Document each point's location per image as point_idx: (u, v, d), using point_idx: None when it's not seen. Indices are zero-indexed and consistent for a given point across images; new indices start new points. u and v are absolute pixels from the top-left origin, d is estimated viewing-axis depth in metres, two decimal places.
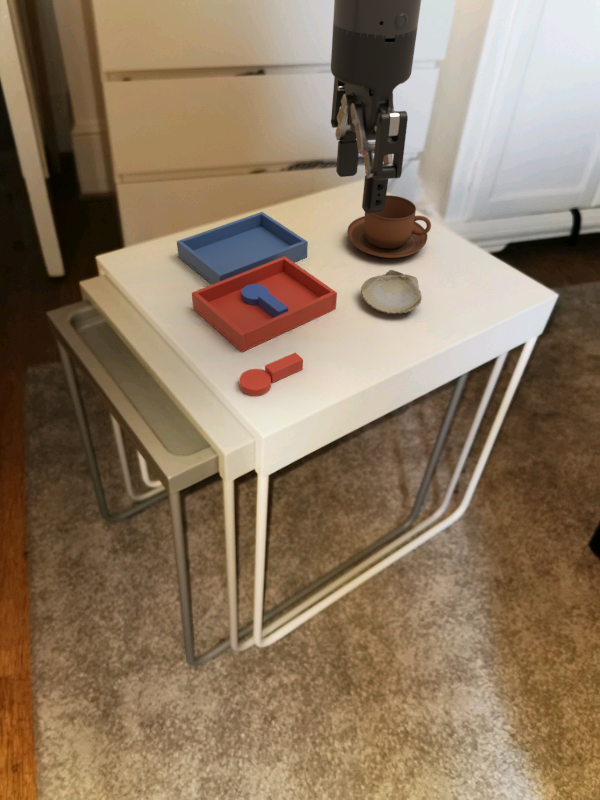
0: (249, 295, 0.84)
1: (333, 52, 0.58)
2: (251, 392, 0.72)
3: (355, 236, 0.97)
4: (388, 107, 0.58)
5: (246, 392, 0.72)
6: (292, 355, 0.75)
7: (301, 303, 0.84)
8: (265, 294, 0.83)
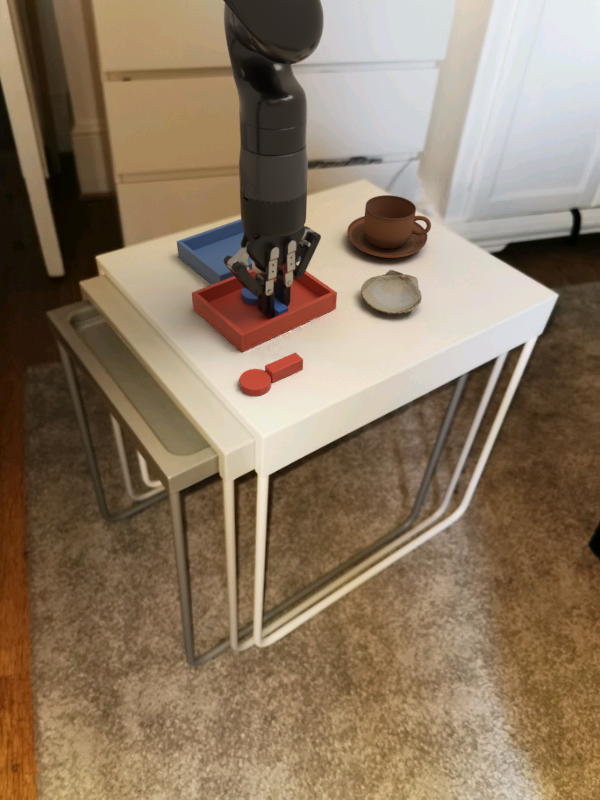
0: (249, 295, 0.84)
1: None
2: (251, 392, 0.72)
3: (355, 236, 0.97)
4: (244, 252, 0.73)
5: (246, 392, 0.72)
6: (292, 355, 0.75)
7: (301, 303, 0.84)
8: None
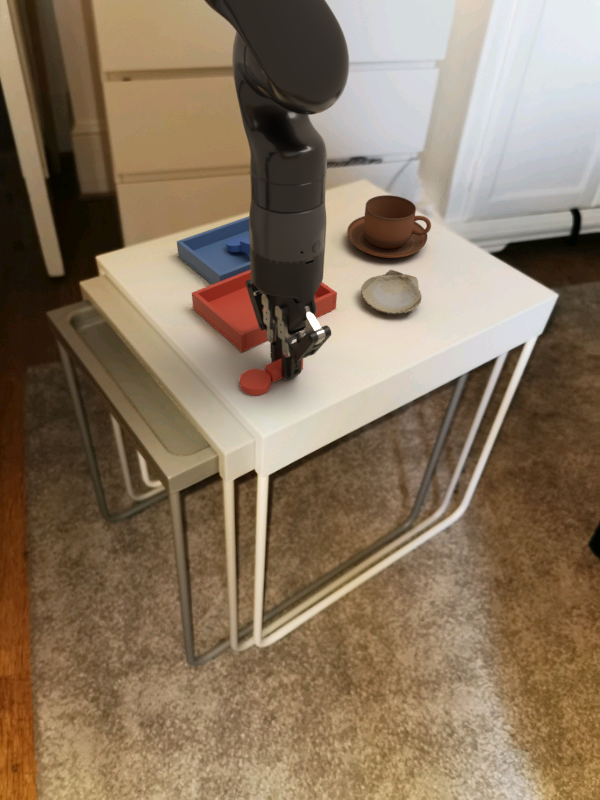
0: (233, 244, 0.92)
1: (255, 271, 0.63)
2: (251, 392, 0.72)
3: (355, 236, 0.97)
4: (313, 317, 0.66)
5: (246, 392, 0.72)
6: None
7: None
8: (246, 239, 0.91)
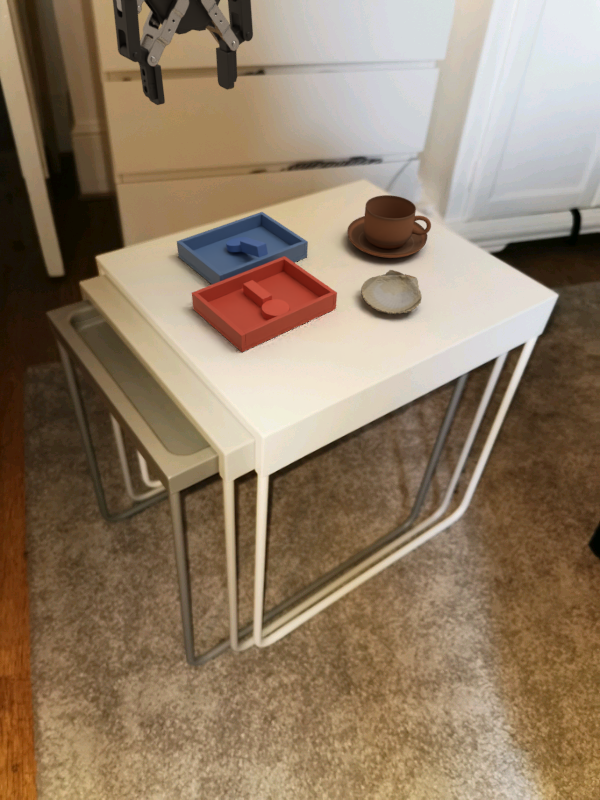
0: (233, 244, 0.92)
1: None
2: None
3: (355, 236, 0.97)
4: None
5: None
6: (247, 285, 0.84)
7: (301, 303, 0.84)
8: (246, 239, 0.91)
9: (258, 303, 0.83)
